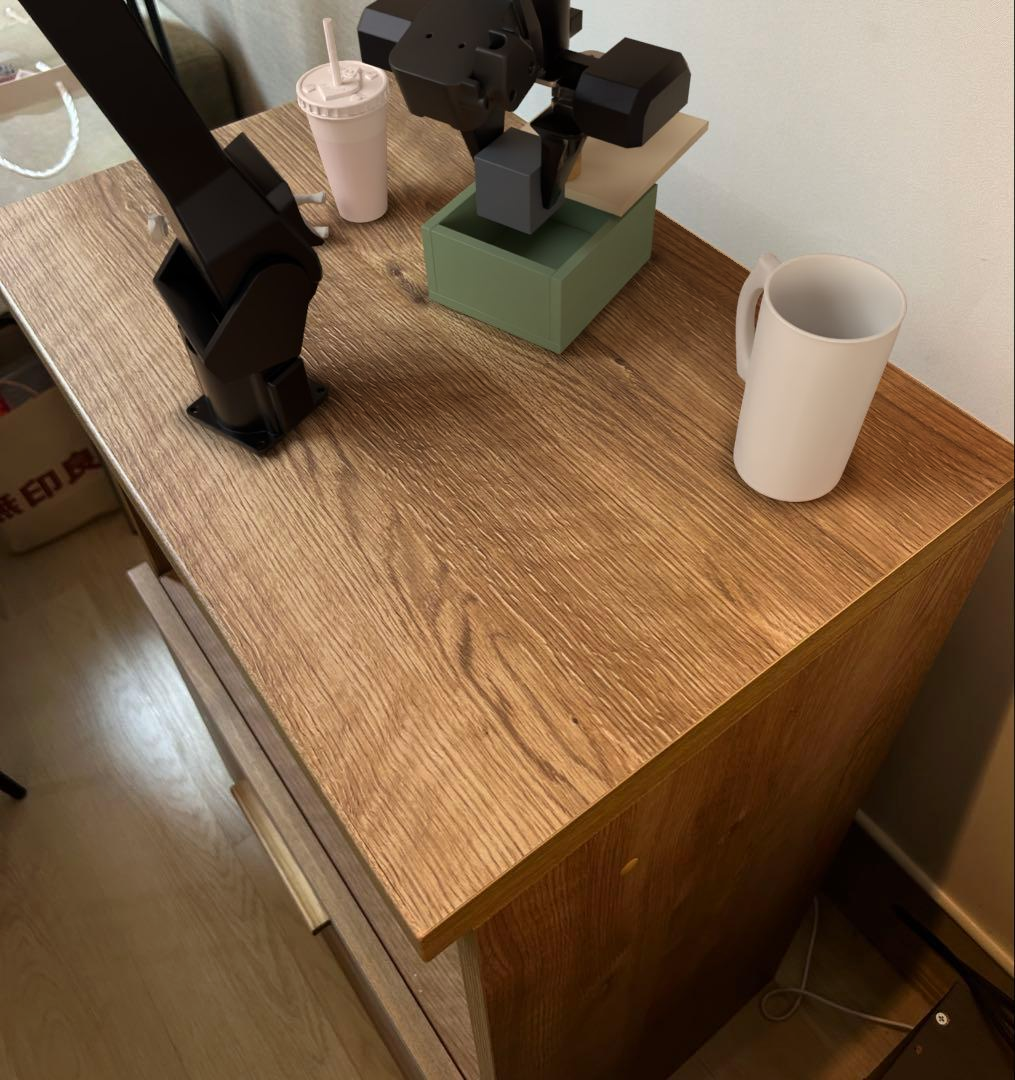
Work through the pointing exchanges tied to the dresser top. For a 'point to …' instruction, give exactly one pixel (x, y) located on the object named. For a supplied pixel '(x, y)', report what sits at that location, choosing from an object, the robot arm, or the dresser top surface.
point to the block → (512, 181)
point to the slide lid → (627, 164)
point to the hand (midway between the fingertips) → (520, 195)
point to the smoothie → (349, 130)
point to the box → (535, 265)
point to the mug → (809, 368)
